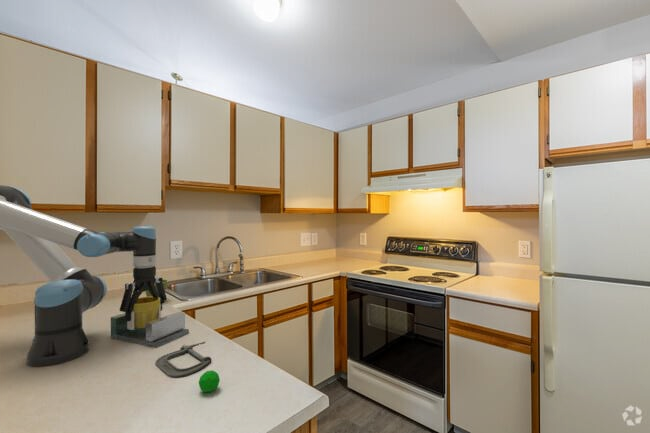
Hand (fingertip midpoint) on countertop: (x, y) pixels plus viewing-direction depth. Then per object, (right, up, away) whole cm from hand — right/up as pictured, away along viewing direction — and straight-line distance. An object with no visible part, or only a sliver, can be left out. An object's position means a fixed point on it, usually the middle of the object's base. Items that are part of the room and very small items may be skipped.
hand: (144, 324), depth 116 cm
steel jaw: (+11, -2, -4) cm, 12 cm away
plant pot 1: (0, 0, 0) cm, 0 cm away
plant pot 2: (-20, -4, +43) cm, 48 cm away
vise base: (+3, -4, -1) cm, 5 cm away
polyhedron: (+39, -4, -38) cm, 55 cm away
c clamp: (+26, -4, -21) cm, 34 cm away
